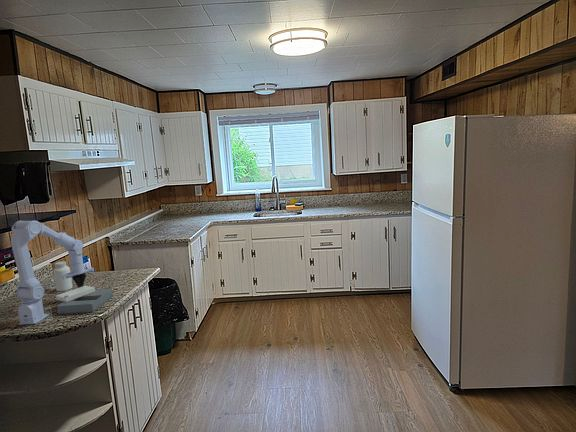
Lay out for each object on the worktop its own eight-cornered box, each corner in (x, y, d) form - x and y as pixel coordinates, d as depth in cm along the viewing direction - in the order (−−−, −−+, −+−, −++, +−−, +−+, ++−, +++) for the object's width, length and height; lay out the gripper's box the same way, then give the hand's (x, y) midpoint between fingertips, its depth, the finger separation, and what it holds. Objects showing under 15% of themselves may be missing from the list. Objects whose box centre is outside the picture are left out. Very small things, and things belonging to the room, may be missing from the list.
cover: (95, 291, 192) (94, 286, 192) (66, 302, 180) (65, 297, 179) (85, 289, 196) (85, 284, 196) (56, 299, 184) (55, 294, 183)
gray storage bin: (93, 312, 176) (92, 303, 176) (58, 314, 177) (57, 306, 176) (113, 295, 196) (112, 288, 195) (81, 297, 196) (80, 290, 196)
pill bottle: (64, 292, 207) (59, 265, 205) (52, 291, 210) (48, 264, 208) (76, 286, 215) (72, 260, 212) (65, 286, 217) (60, 260, 215)
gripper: (88, 258, 201) (92, 283, 203) (57, 265, 190) (62, 292, 193) (94, 260, 197) (98, 285, 199) (63, 267, 186) (67, 294, 188)
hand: (80, 289), depth 195 cm, fingers closed
